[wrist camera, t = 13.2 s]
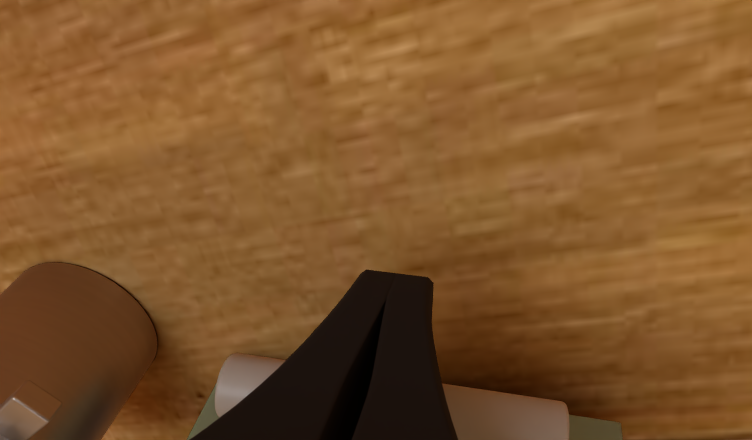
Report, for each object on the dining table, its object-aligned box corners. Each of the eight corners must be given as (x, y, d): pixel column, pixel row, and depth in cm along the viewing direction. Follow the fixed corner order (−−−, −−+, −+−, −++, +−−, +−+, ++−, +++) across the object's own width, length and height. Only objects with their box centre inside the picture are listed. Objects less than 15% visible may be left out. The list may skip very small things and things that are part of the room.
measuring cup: (113, 392, 23) (1, 555, 18) (-7, 307, 22) (-163, 460, 17) (215, 313, 19) (109, 489, 15) (79, 205, 18) (-88, 361, 13)
